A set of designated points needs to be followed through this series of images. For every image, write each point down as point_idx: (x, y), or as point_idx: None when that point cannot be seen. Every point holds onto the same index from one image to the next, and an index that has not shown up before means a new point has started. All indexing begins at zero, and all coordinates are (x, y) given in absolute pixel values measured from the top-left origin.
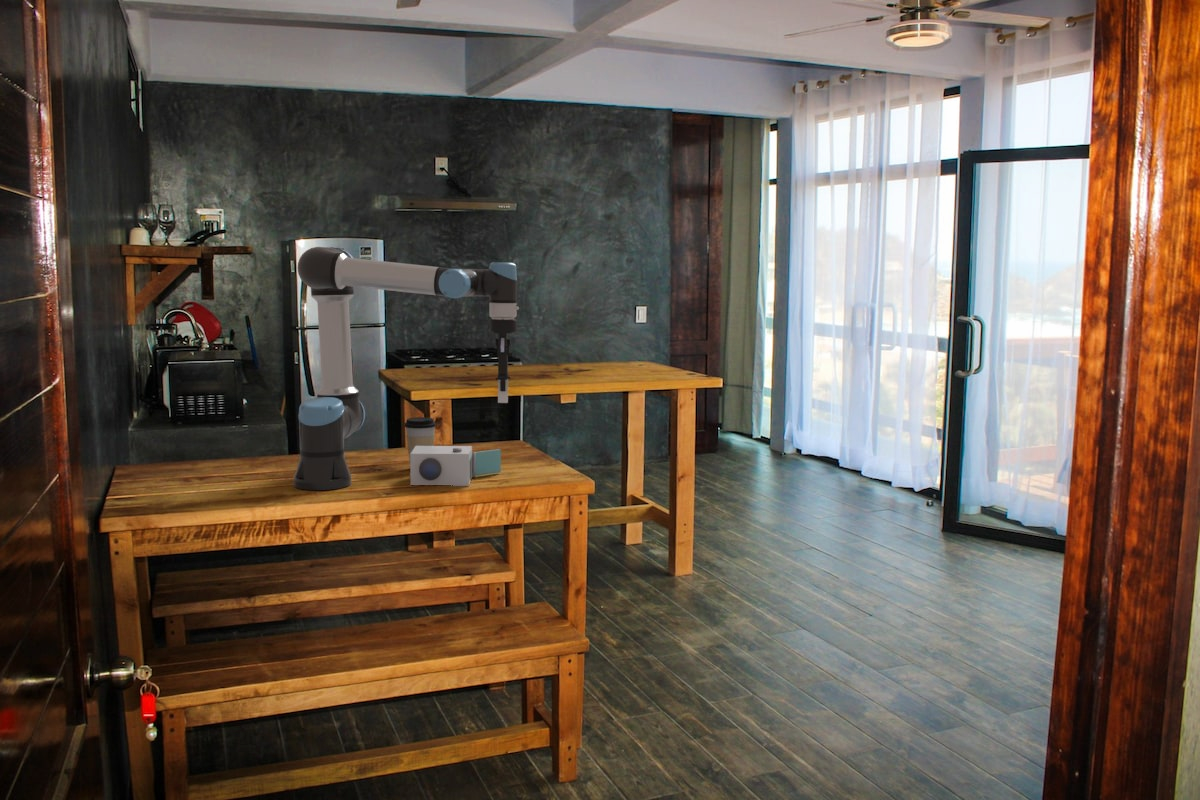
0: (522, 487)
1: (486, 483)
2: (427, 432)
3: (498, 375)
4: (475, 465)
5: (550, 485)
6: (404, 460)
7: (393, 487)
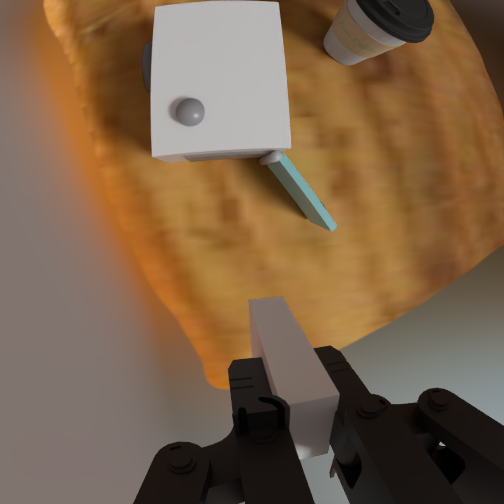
0: (168, 285)
1: (199, 199)
2: (364, 20)
3: (152, 469)
4: (267, 163)
5: (196, 337)
6: None
7: (153, 19)
